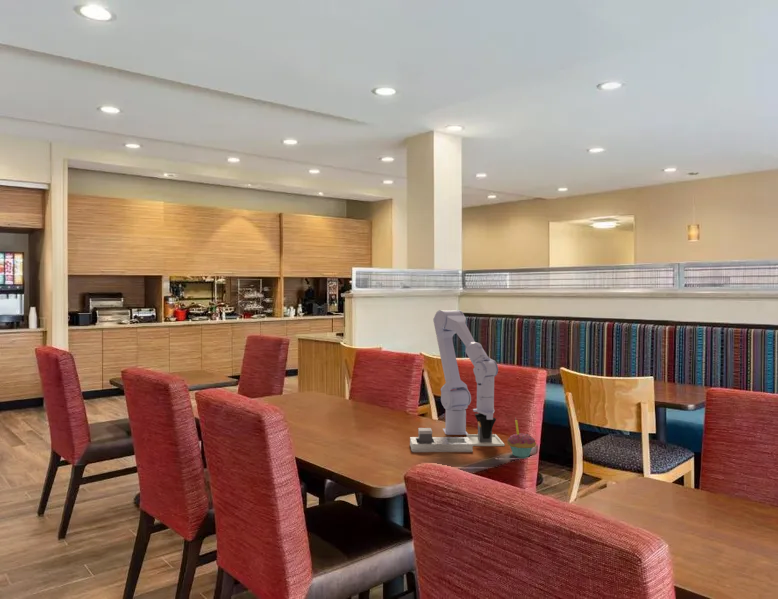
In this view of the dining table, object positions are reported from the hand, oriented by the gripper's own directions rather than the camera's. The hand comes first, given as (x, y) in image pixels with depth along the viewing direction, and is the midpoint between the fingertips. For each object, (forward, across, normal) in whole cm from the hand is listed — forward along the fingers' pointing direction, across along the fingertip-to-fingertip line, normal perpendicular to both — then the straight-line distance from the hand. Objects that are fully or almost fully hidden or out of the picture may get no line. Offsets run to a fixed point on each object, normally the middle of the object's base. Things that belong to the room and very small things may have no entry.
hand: (484, 436), depth 205 cm
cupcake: (+2, +17, +8) cm, 19 cm away
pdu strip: (+2, +9, -16) cm, 19 cm away
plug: (+1, 0, 0) cm, 1 cm away
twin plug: (+2, +9, -21) cm, 23 cm away
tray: (+2, 0, 0) cm, 2 cm away
